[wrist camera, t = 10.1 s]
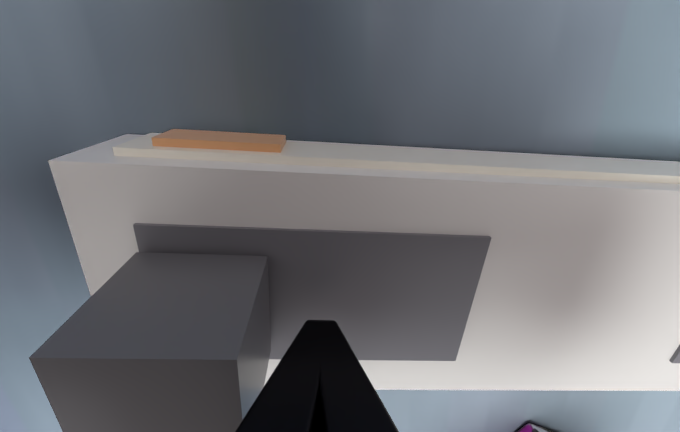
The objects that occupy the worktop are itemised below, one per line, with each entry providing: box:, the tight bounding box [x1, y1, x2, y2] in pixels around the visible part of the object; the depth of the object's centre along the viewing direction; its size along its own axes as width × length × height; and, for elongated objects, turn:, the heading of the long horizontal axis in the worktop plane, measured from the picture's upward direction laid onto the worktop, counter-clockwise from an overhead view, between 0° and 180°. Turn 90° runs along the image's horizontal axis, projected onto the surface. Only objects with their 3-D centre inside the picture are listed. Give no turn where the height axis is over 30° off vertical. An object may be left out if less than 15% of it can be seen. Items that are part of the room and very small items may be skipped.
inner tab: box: [29, 252, 271, 432], centre depth 7 cm, size 3×3×3 cm
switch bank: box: [48, 129, 680, 391], centre depth 10 cm, size 7×27×3 cm, turn 86°
